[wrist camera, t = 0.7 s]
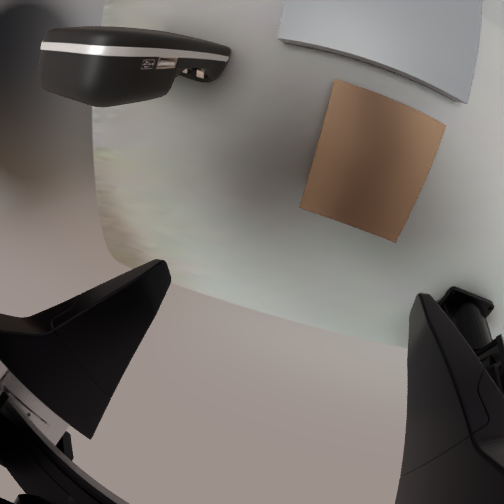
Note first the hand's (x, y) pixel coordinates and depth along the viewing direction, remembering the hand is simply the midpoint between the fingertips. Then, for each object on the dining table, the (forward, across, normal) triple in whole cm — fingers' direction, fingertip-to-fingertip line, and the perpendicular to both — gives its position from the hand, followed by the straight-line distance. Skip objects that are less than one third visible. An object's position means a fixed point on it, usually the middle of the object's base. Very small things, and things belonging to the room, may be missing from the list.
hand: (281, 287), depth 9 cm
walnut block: (+12, -3, -2) cm, 13 cm away
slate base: (+12, -5, -14) cm, 19 cm away
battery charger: (+12, +9, -9) cm, 18 cm away
